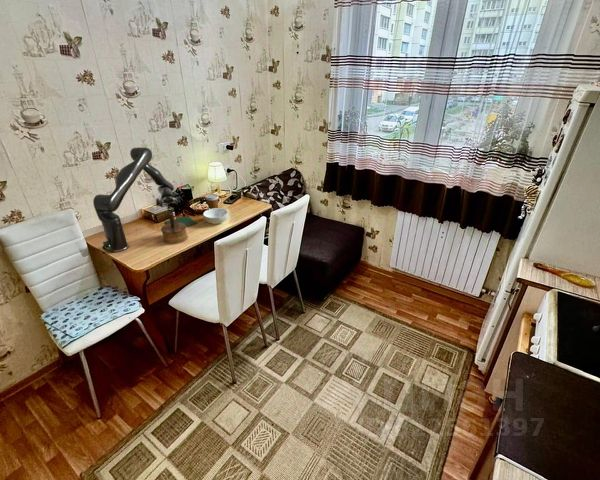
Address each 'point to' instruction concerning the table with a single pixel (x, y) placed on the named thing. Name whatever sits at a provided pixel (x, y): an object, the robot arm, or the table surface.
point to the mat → (184, 221)
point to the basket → (175, 237)
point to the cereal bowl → (215, 215)
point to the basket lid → (173, 226)
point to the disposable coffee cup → (212, 200)
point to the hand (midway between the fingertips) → (169, 204)
